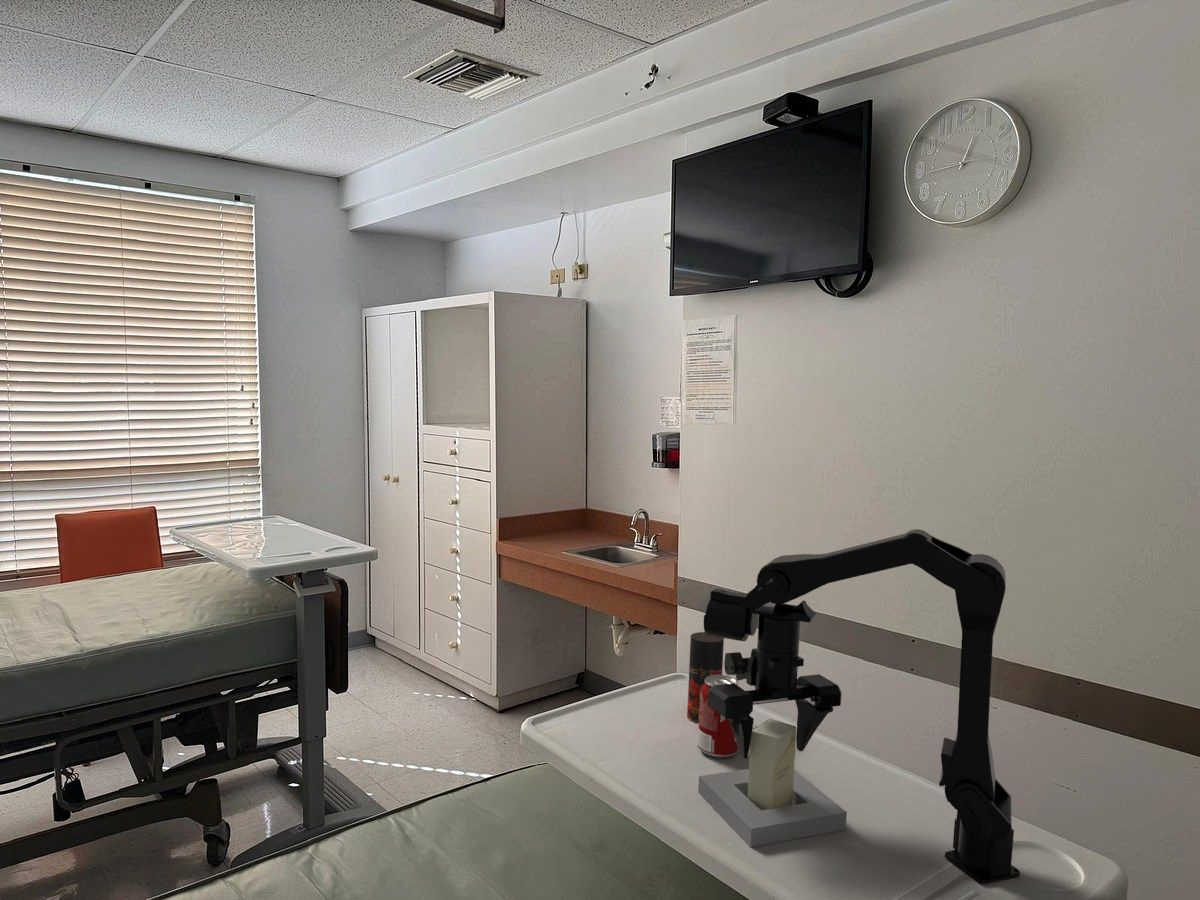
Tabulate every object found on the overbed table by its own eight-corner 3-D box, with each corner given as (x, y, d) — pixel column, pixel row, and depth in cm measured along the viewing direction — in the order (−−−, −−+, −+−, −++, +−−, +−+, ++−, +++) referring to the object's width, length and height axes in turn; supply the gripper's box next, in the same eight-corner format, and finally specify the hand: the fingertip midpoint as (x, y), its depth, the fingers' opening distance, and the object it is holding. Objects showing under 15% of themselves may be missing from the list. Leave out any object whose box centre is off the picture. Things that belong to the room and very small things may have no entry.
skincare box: (773, 824, 113) (778, 739, 112) (744, 813, 116) (749, 730, 115) (793, 807, 118) (798, 725, 117) (765, 796, 121) (769, 717, 120)
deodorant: (683, 711, 152) (687, 632, 151) (715, 711, 152) (719, 632, 151) (690, 724, 146) (694, 642, 145) (723, 724, 147) (727, 642, 145)
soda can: (707, 762, 131) (710, 689, 131) (691, 744, 138) (694, 674, 137) (745, 758, 133) (749, 686, 132) (728, 740, 140) (731, 672, 139)
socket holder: (845, 829, 113) (846, 812, 113) (750, 847, 108) (751, 828, 107) (785, 778, 127) (786, 763, 127) (698, 792, 122) (699, 776, 121)
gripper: (801, 625, 126) (796, 724, 127) (692, 634, 120) (687, 738, 121) (847, 648, 116) (840, 755, 117) (730, 659, 109) (724, 772, 110)
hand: (772, 754), depth 117 cm, fingers open, 9 cm apart
